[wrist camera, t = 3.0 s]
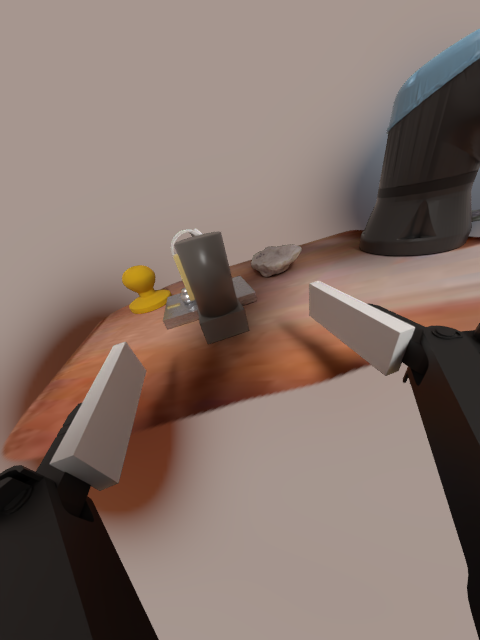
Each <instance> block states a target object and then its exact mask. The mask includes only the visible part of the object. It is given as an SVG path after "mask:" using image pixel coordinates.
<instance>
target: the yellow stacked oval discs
mask: <svg viewBox="0 0 480 640" xmlns="http://www.w3.org/2000/svg"><path fill="white" fill-rule="evenodd" d="M122 282H123V284H124V285H125V286H126V287H127V288H128V289H130V290H132V291H134V292H137V293H138V294H139V297H138V298H137V299H135V300H134V301H133V302H132V303H131V304H130V306H129V308H130V310H131V311H132V312H133V313H135V314H142V313H147V312H150V311H153V310H156V309H158V308H160V307H162V306H164V305H165V304H166V303H167V298H168V297H170V296H172V295H171V293H170V291H169V290H154V288H153V286H154V283H155V273H154V272H153V271H152V270H151V269H150V268H149V267H147V266H142V265H139V266H133V267H131V268H129V269H128V270H126V271H125V272H124V274H123V277H122Z"/></svg>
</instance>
